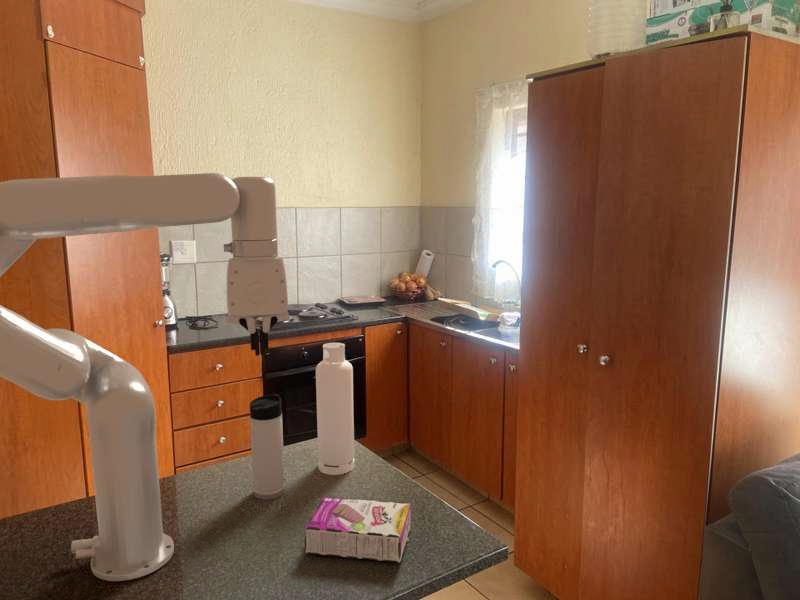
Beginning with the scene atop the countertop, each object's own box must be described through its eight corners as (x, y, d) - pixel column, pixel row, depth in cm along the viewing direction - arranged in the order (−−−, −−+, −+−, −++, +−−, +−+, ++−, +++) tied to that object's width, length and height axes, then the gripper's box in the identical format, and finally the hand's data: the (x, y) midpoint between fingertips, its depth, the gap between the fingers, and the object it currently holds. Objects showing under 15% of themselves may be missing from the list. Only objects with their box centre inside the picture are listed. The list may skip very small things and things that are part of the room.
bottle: (361, 469, 129) (359, 346, 125) (327, 478, 125) (324, 351, 120) (344, 455, 136) (342, 339, 131) (312, 464, 132) (308, 343, 127)
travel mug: (292, 489, 120) (289, 396, 117) (269, 503, 115) (265, 406, 111) (270, 481, 123) (266, 391, 120) (247, 494, 118) (242, 400, 115)
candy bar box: (323, 494, 107) (411, 502, 105) (323, 519, 108) (410, 527, 105) (303, 526, 96) (401, 536, 94) (304, 554, 97) (401, 564, 94)
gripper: (208, 253, 94) (214, 362, 98) (301, 250, 98) (304, 356, 101) (210, 249, 102) (216, 351, 105) (297, 247, 105) (300, 345, 109)
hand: (259, 353), depth 103 cm, fingers closed
